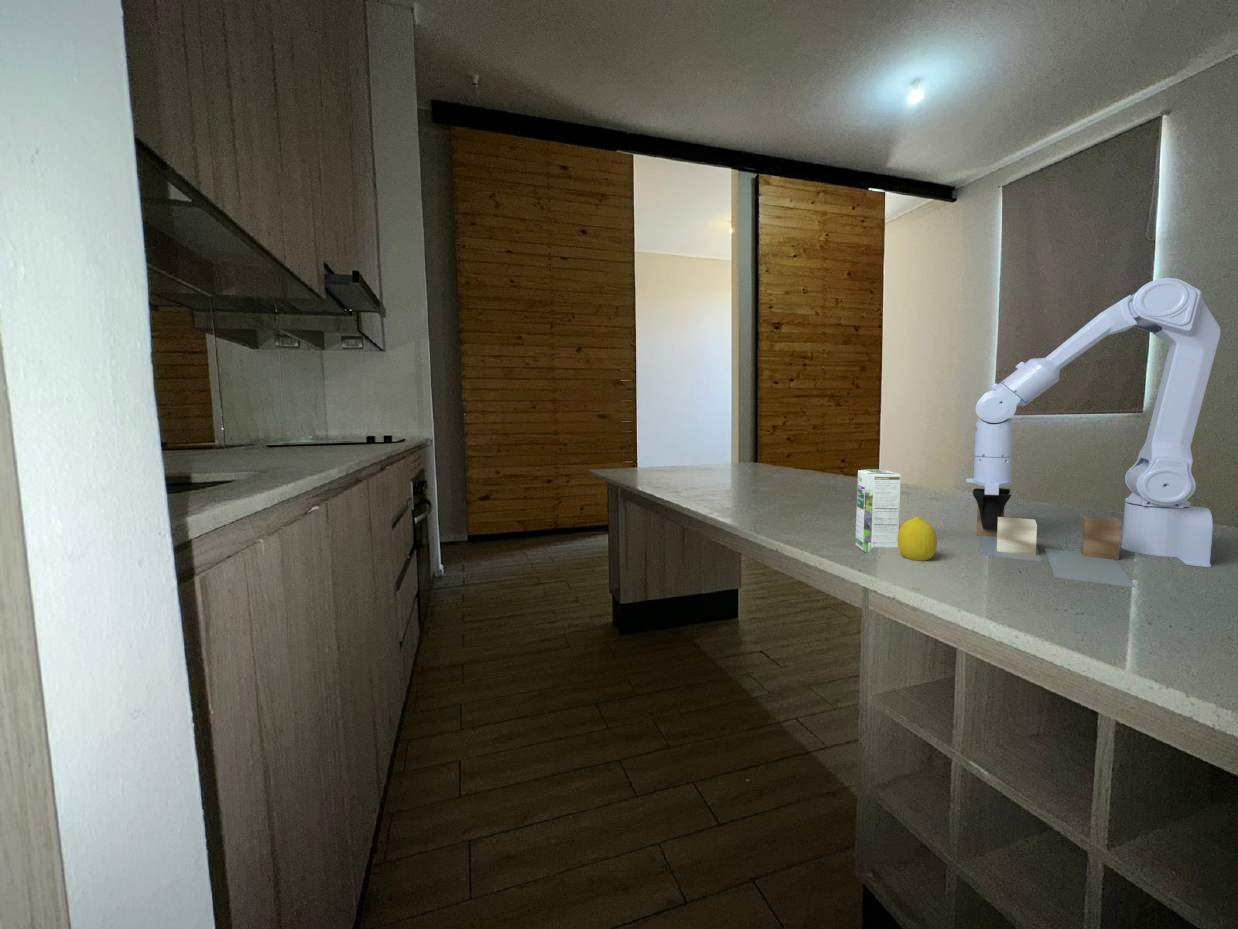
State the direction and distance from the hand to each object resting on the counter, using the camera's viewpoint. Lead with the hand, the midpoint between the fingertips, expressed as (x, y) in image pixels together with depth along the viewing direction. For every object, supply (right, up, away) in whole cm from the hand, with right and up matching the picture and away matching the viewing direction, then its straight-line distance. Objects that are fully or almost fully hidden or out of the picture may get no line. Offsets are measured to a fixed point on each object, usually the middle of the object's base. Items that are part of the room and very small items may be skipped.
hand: (990, 527), depth 94 cm
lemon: (-22, -5, -13) cm, 26 cm away
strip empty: (0, -4, -19) cm, 20 cm away
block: (-3, -2, -10) cm, 11 cm away
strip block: (-2, -3, -7) cm, 8 cm away
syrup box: (-23, -4, -3) cm, 24 cm away
